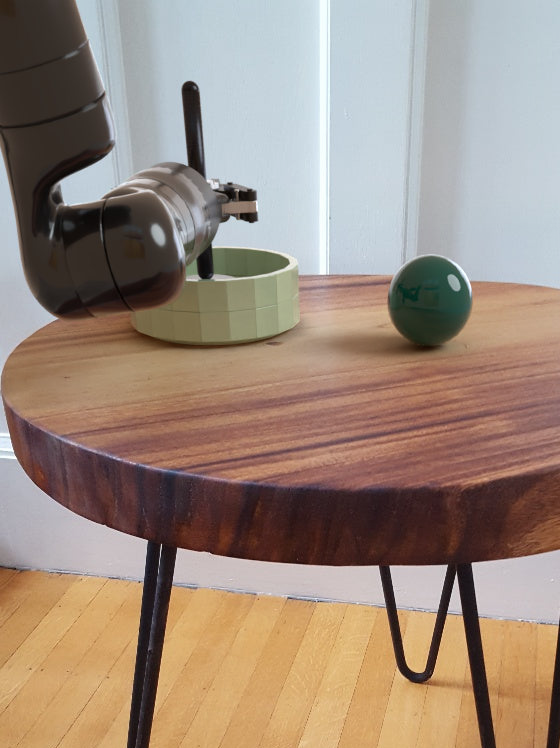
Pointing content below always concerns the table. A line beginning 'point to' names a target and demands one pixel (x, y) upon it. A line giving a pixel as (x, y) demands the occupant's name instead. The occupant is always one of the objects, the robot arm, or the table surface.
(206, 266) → the joystick
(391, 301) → the sphere
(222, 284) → the bowl
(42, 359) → the table surface
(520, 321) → the table surface
